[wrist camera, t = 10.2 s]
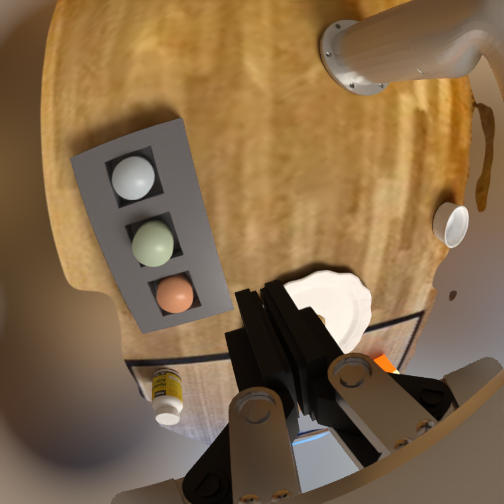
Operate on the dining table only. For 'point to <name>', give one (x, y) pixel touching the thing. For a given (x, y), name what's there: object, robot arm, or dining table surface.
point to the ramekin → (450, 223)
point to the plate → (335, 303)
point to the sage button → (153, 243)
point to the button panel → (154, 208)
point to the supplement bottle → (167, 396)
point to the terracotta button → (175, 293)
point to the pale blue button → (134, 177)
